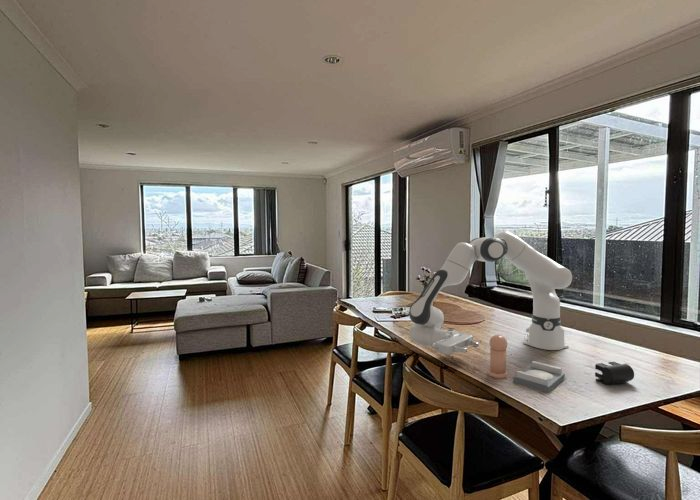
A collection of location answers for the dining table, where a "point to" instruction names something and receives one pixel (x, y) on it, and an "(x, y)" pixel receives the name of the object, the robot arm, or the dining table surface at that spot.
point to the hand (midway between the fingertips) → (472, 347)
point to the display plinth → (540, 376)
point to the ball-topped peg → (498, 357)
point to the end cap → (614, 373)
